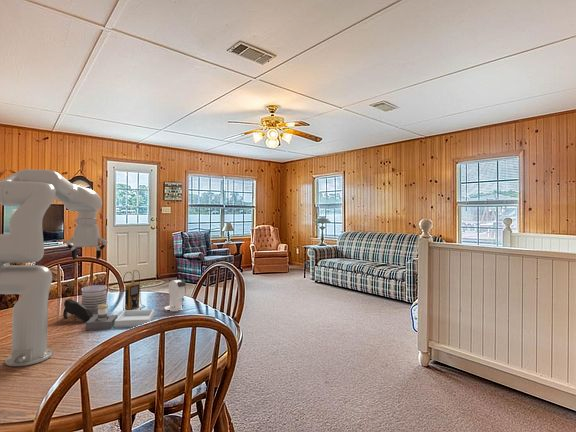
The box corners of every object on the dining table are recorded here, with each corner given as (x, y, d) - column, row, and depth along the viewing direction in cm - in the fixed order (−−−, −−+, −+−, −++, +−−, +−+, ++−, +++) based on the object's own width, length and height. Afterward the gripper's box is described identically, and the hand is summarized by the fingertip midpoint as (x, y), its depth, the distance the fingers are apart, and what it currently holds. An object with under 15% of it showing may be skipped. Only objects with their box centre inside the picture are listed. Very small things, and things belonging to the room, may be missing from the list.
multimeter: (134, 314, 166) (135, 274, 166) (118, 312, 170) (119, 272, 170) (155, 307, 180) (156, 269, 180) (140, 305, 183) (141, 268, 183)
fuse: (105, 326, 148) (106, 306, 148) (95, 327, 147) (96, 306, 147) (108, 323, 152) (108, 303, 152) (98, 324, 151) (99, 304, 151)
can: (111, 308, 176) (111, 285, 176) (97, 314, 165) (97, 290, 165) (91, 307, 177) (91, 284, 177) (75, 313, 166) (75, 289, 166)
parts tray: (148, 326, 150) (148, 319, 150) (114, 327, 147) (114, 320, 147) (154, 315, 165) (154, 309, 165) (123, 316, 162) (123, 310, 162)
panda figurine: (191, 308, 179) (192, 280, 179) (171, 312, 171) (172, 283, 171) (180, 304, 187) (180, 277, 187) (160, 307, 179) (161, 279, 179)
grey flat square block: (111, 328, 145) (111, 321, 145) (85, 329, 143) (85, 322, 143) (117, 321, 155) (117, 314, 155) (93, 322, 153) (93, 315, 153)
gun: (83, 333, 154) (92, 315, 153) (57, 315, 157) (65, 296, 156) (88, 331, 157) (96, 313, 156) (62, 313, 159) (70, 295, 158)
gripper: (62, 222, 150) (62, 260, 150) (105, 222, 155) (104, 259, 155) (69, 221, 158) (68, 258, 158) (109, 222, 162) (109, 257, 162)
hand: (86, 258), depth 156 cm, fingers open, 9 cm apart
